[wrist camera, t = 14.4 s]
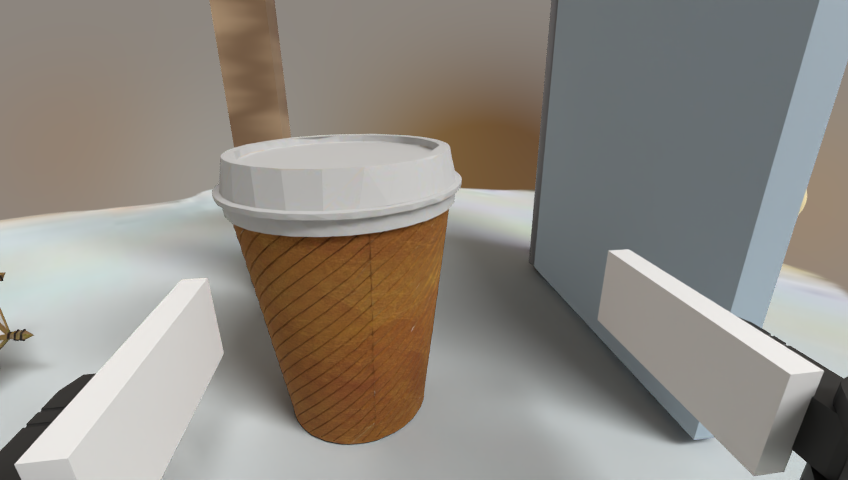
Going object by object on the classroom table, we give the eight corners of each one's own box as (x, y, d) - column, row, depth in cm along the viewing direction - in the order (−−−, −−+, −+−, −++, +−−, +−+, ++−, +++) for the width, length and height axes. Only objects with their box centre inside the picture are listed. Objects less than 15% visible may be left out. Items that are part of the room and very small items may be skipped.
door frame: (259, 297, 30) (185, -142, 21) (268, 278, 33) (206, -116, 24) (600, 273, 33) (660, -118, 24) (582, 258, 36) (630, -98, 27)
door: (526, 258, 34) (549, -23, 27) (567, 256, 35) (600, -22, 28) (692, 440, 17) (875, -205, 10) (770, 430, 17) (999, -195, 10)
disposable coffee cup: (339, 530, 14) (297, 188, 10) (222, 397, 21) (165, 150, 16) (496, 389, 21) (511, 144, 17) (372, 320, 27) (359, 128, 23)
